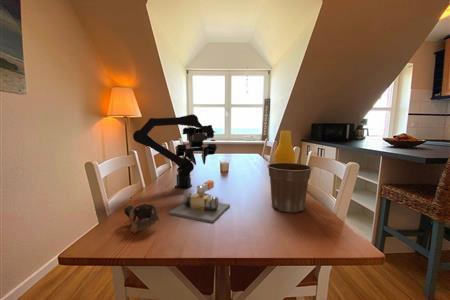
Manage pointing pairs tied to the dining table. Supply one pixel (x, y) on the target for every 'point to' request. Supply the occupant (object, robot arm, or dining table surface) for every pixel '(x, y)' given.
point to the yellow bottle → (284, 149)
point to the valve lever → (205, 187)
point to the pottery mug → (141, 216)
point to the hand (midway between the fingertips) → (200, 164)
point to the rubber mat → (200, 212)
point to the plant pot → (289, 186)
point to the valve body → (201, 202)
